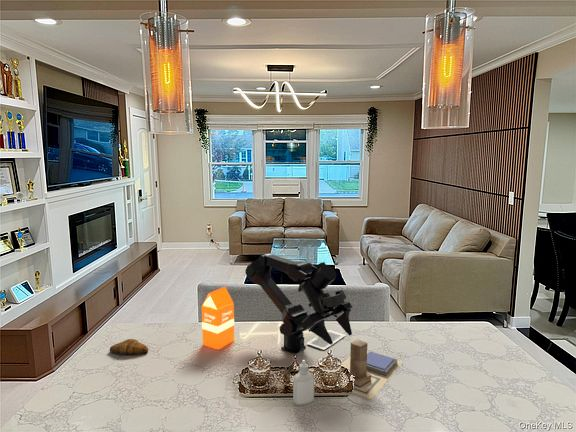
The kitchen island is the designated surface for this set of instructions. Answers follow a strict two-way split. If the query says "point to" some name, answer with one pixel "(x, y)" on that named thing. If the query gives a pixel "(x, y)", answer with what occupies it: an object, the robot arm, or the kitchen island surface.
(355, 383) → the walnut stamp
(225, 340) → the orange juice
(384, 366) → the ink pad
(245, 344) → the kitchen island surface
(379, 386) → the board
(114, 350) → the croissant
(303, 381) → the eye dropper bottle
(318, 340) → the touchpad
